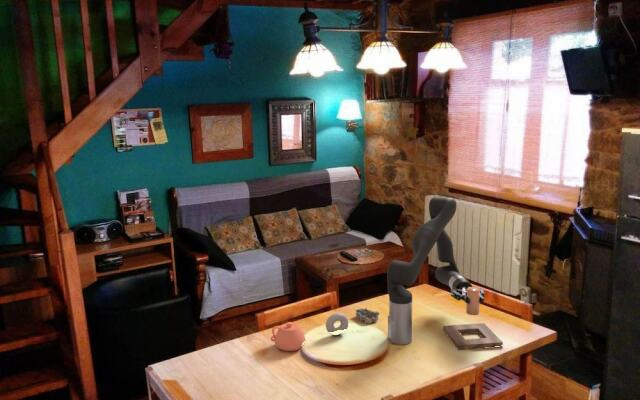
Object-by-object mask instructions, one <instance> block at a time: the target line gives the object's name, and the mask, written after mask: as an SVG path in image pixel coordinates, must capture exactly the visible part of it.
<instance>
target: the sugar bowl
mask: <svg viewBox="0 0 640 400" xmlns="http://www.w3.org/2000/svg"><path fill="white" fill-rule="evenodd" d="M275 329H278V330H277V332H276V333H275ZM271 332H272V336H271V337H270V341H272V342H274V345H275V346H276V347H277V348H278V349H280V350H281V351H284V352H285V351H286V352H296V351H297V350H299V349H301V348H302V347H301V345H302V343H303V342H304V341H305V342H306V336H305V334H304V331H303V329H301V327H300V326H299V325H298V324H297V323H294V322H291V321H288V322H286V323H283V324H281V325H280V326H278V325H275V326H273V327H272V329H271Z"/></svg>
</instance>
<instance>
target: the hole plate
mask: <svg viewBox="0 0 640 400" xmlns="http://www.w3.org/2000/svg"><path fill="white" fill-rule="evenodd" d="M442 330H444V331H445V332H444V331H443V332H444V334H445V335H446V334H447V335H448V336H447V335H446V336H447V337H448V338H450V339H449V340H450V341H451V343H452V342H453V343H452V344H453V346H455V347H456V349H457V350H458V351H465V350H466V349H467V350H476V349H475V348H481V349H486V348H485V347H495V346H501V345H503V344H504V342H503V341H502V340H501V338H500V337H499V336H497V335H496V334H495V333H494V332H493V331H492V329H491V328H490V327H488V326H487V325H486V323H484V322H483V323H480V322H479V323H478V322H477V323H463V324H451V325H442ZM474 332H478V333H477V334H478V335H479V336H480V335H481V336H482V337H483V338H482V337H481V336H480V337H481V338H468V339H467V338H465V337H464V336H463V334H460V333H467V334H475V333H474ZM495 348H496V347H495ZM467 350H466V351H467Z"/></svg>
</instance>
